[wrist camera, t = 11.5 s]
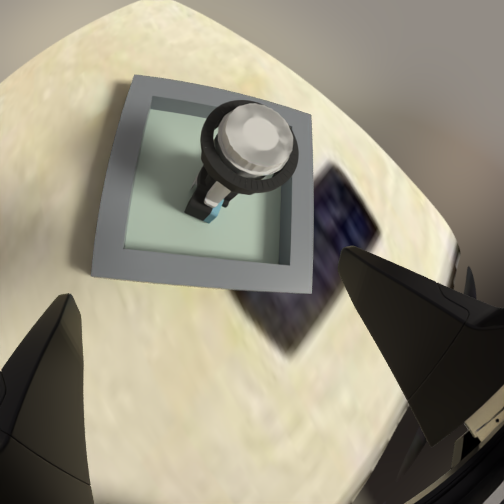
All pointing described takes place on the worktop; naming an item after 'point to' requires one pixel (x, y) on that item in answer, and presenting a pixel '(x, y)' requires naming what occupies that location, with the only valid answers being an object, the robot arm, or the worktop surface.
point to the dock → (178, 195)
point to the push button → (241, 156)
